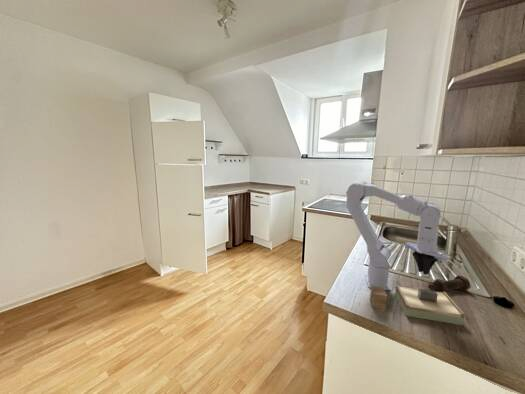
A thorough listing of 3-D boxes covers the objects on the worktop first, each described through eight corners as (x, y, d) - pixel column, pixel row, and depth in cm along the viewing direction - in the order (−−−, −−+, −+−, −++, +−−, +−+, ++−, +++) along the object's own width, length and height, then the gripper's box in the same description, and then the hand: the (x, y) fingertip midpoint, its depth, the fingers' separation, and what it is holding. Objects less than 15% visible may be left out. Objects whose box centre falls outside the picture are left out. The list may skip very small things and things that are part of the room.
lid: (398, 288, 85) (399, 279, 85) (442, 295, 81) (443, 285, 81) (409, 309, 74) (410, 298, 73) (460, 317, 70) (462, 306, 69)
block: (369, 300, 83) (371, 285, 81) (381, 302, 81) (383, 287, 80) (372, 309, 78) (374, 294, 77) (385, 311, 77) (387, 295, 76)
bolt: (428, 294, 89) (460, 290, 91) (438, 295, 85) (472, 290, 86) (423, 279, 91) (455, 275, 93) (433, 279, 86) (466, 275, 88)
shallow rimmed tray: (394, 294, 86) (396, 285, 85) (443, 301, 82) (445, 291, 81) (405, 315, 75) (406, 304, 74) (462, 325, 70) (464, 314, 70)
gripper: (400, 233, 85) (397, 266, 87) (442, 246, 72) (437, 284, 74) (413, 230, 88) (410, 262, 90) (456, 243, 74) (451, 280, 77)
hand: (423, 272), depth 82 cm, fingers closed
